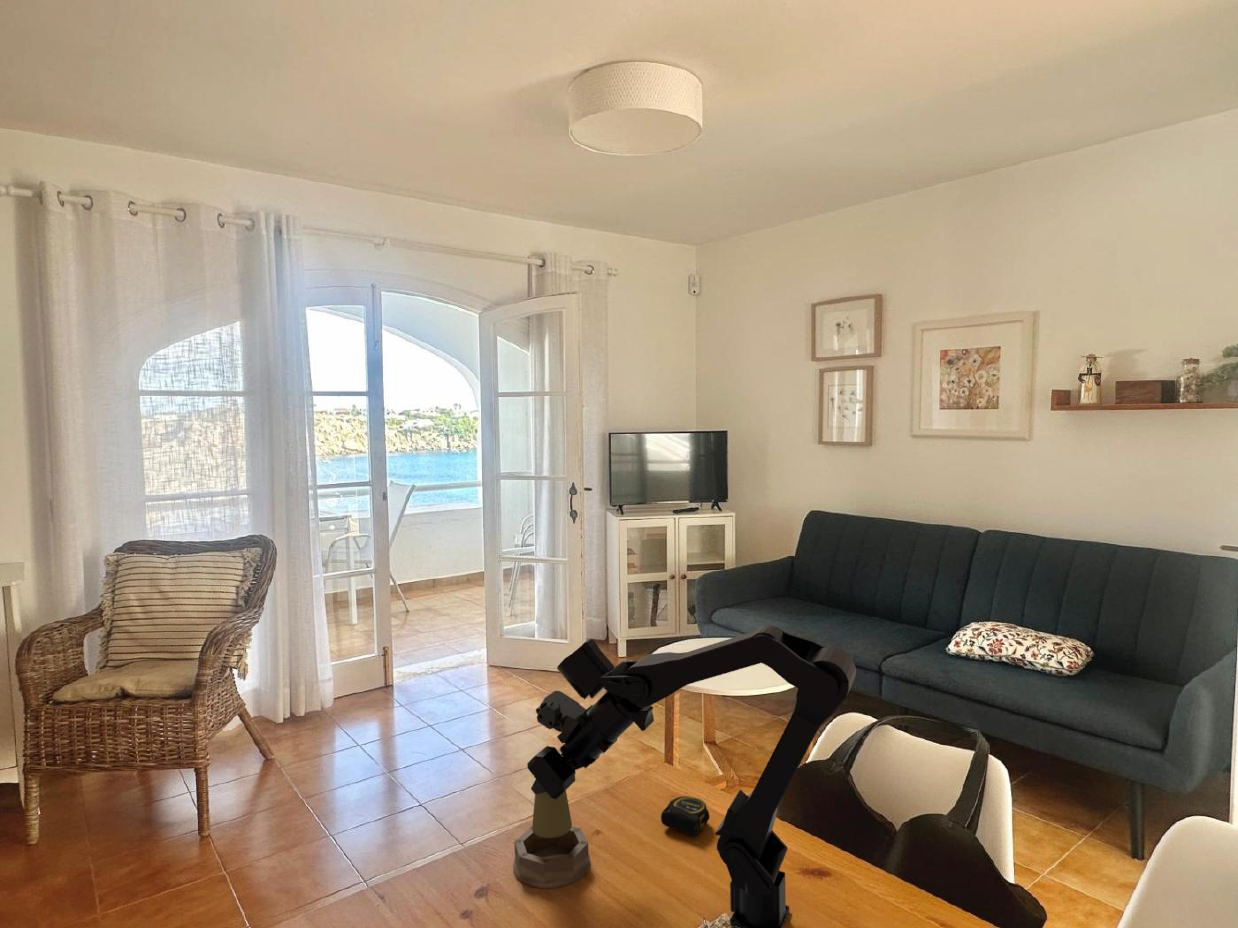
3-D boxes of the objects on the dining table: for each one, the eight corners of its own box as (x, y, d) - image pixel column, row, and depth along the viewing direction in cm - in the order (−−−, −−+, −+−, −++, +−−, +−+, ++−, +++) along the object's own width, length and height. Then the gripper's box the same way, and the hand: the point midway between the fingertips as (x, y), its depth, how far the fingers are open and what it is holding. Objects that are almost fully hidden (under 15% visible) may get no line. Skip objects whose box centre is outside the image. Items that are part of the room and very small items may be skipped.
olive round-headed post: (574, 834, 112) (571, 762, 111) (533, 839, 111) (529, 766, 110) (569, 814, 118) (567, 745, 117) (530, 818, 117) (528, 749, 116)
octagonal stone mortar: (603, 853, 117) (602, 831, 117) (564, 896, 107) (563, 872, 107) (540, 836, 123) (540, 815, 122) (497, 875, 112) (497, 852, 112)
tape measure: (659, 830, 124) (658, 808, 124) (680, 811, 130) (680, 790, 129) (695, 843, 120) (694, 820, 120) (716, 823, 126) (715, 801, 125)
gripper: (596, 659, 120) (539, 718, 125) (536, 700, 103) (473, 767, 108) (644, 714, 117) (583, 772, 122) (590, 765, 100) (522, 830, 105)
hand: (542, 782), depth 115 cm, fingers closed on olive round-headed post, 5 cm apart
